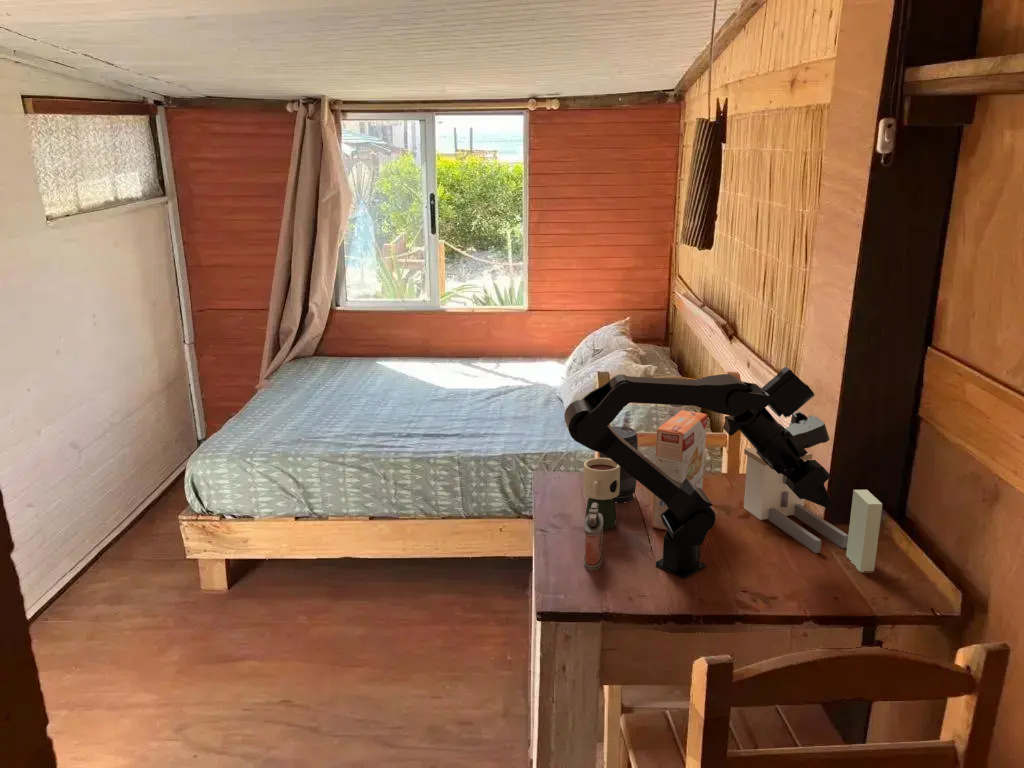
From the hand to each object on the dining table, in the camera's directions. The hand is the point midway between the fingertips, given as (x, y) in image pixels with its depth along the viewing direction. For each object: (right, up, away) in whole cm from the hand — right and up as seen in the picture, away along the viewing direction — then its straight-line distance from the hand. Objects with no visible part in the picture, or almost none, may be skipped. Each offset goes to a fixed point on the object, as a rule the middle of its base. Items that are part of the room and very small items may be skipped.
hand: (818, 495), depth 136 cm
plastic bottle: (-19, -4, +34) cm, 39 cm away
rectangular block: (+8, -13, +3) cm, 15 cm away
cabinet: (+2, -9, +17) cm, 19 cm away
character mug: (-36, -9, +19) cm, 42 cm away
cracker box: (-20, -8, +21) cm, 30 cm away
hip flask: (-39, -13, +6) cm, 41 cm away
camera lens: (-31, -5, +32) cm, 45 cm away
